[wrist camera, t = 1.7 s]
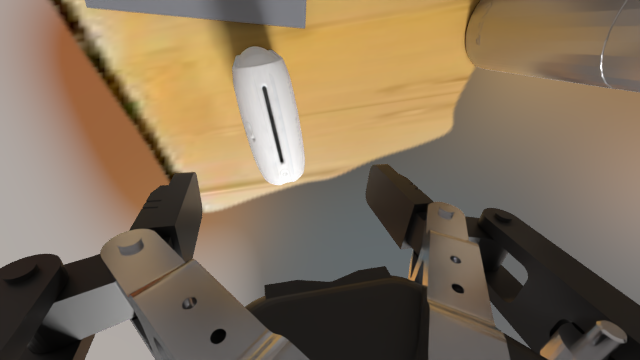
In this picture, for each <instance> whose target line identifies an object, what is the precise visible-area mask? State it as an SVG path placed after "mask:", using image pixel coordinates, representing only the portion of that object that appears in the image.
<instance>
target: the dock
mask: <svg viewBox="0 0 640 360" xmlns="http://www.w3.org/2000/svg"><path fill="white" fill-rule="evenodd" d="M85 2H86V6H87V7H88V8H95V9H105V10H116V11H126V12H137V13H147V14H157V15H168V16H178V17H189V18H199V19H210V20H220V21H231V22H241V23H252V24H262V25H273V26H283V27H293V28H305V19H306V0H85Z"/></svg>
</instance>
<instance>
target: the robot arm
mask: <svg viewBox="0 0 640 360" xmlns="http://www.w3.org/2000/svg"><path fill="white" fill-rule="evenodd" d="M466 51H467V54H468V57H469V59H470V60H471V62H472V63H473V64H474V65H475V66H477V67H479V68H482V69H487V70H494V71H500V72H507V73H513V74H519V75H526V76H533V77H540V78H546V79H553V80H559V81H566V82H573V83H579V84H586V85H592V86H599V87H606V88H612V89H621V90H627V91H634V92H640V0H481V1H480V2H479V3H478V5H477V6H476V8H475V10H474V12H473V14H472V16H471V18H470V21H469V24H468V28H467V32H466ZM366 201H367V203H368V205H369V206H370V208H371V209H372V211H373V212H374V213H375V215H376V216H377V217H378V219H379V220H380V221H381V223H382V224H383V226H384V227H385V228H386V230H387V231H388V232H389V234H390V235H391V237H392V238H393V240H394V241H395V242H396V244H397V245H398V246H399V248H400V249H406V248H413V252H412V255H411V260H410V268H409V275H408V279H406V278H403V277H398V276H391V275H390V273H389V272H388V270H387V268H386V267H385V266H384V267H377V268H371V269H364V270H358V271H356V272H353V273H351V274H349V275H347V276H344V277H342V278H340V279H337V280H335V281H333V282H321V281H304V280H295V281H288V282H282V283H276V284H269V285H265V296H263V297H261V298H259V299H257V300H255V301H253V302H251V303H250V304H248V305H247V306H246V307H244V306H243V305H242V304H241V303H240V302H239V301H238V300H237V299H236V298H235V297H234V296H233V295H232V294H231V293H230V292H229V291H227V290H226V289H225V288H224V287H223V286H222V285H221V284H220V283H219V282H218V281H217V280H216V279H215V278H214V277H213V276H212V275H211V274H210V273H209V272H208V271H207V270H206V269H205V268H203V267H202V266H201V265H200V264H199V263H198V262H197V261H196V260H194V259H192V258H193V254H194V250H195V245H196V241H197V236H198V232H199V227H200V223H201V219H202V203H201V197H200V191H199V186H198V180H197V175H196V173H195V172H189V173H175V174H174V176H173V178H172V180H171V182H170V184H169V185H166V186H164V185H163V186H160V187H158V188H157V189H156V190H154V191H153V192H152V193H151V194H150V196H149V197H148V199H147V202H146V203H145V204H144V206H143V209H142V210H141V211H140V213H139V215H138V216H137V218H136V220H135V222H134V223H133V225H132V227H131V228H130V230H129V231H127V232H124V233H121V234H119V235H117V236H115V237H113V238H112V239H111V240H109V241H108V242H107V243H106V244H105V245H104V246H103V247H102V249H101V252H100V254H98V255H95V256H93V257H89V258H86V259H82V260H79V261H75V262H72V263H68V264H65V265H63V263H62V261H61V259H60V258H59V257H58V256H56V255H53V254H38V255H33V256H29V257H25V258H22V259H19V260H17V261H14V262H12V263H10V264H8V265H6V266H4V267H2V268H0V360H85V357H86V355H87V353H88V350H89V348H90V345H91V343H92V341H93V338H94V336H95V334H96V333H98V332H100V331H102V330H105V329H107V328H109V327H112V326H114V325H117V324H119V323H121V322H124V321H126V320H129V319H130V320H131V322H132V324H133V325H134V327H135V328H136V330H137V332H138V333H139V335H140V336H141V338H142V340H143V341H144V342H145V344H146V346H147V347H148V349H149V350H150V352H151V354H152V355H153V357H154V358H155V360H640V305H638V304H637V303H635V302H634V301H633V300H631V299H630V298H629V297H627V296H625V295H624V294H623V293H622V292H620V291H619V290H618V289H616V288H615V287H613V286H612V285H610V284H609V283H608V282H606V281H605V280H604V279H602V278H601V277H599V276H598V275H597V274H595V273H594V272H592V271H591V270H589V269H588V268H587V267H585V266H584V265H583V264H581V263H580V262H578V261H577V260H576V259H574V258H573V257H572V256H570V255H569V254H567V253H566V252H565V251H563V250H562V249H560V248H559V247H558V246H556V245H555V244H553V243H552V242H551V241H549V240H548V239H547V238H545V237H544V236H542V235H541V234H540V233H538V232H537V231H535V230H534V229H533V228H531V227H530V226H528V225H527V224H525V223H524V222H523V221H521V220H520V219H519V218H517V217H516V216H514V215H513V214H511V213H508V212H506V211H503V210H500V209H496V208H487V209H484V211H483V212H482V214H481V217H480V218H474V217H465V215H464V213H463V212H462V211H461V210H460V209H458V208H457V207H455V206H453V205H450V204H447V203H443V202H433V201H432V200H431V199H430V198H429V197H428V196H427V195H425V194H424V193H423V192H422V191H421V190H420V189H418V187H417V186H415V185H413V183H412V182H411V181H410V180H409V179H408V178H406V177H404V176H402V175H400V174H398V173H397V172H396V171H395V170H394V169H393V168H391V167H390V166H389V165H388V164H381V165H372V167H371V169H370V173H369V178H368V183H367V189H366ZM508 252H509V253H510V254H511V255H512V256H513V257H514V258H515V259H516V260H518V261H519V262H520V263H521V264H522V265H523V266H524V267H525V268H526V270H527V272H528V280H527V282H526V283H525V285H524V286H523V285H521V283H520V282H518V281H517V280H516V279H515V278H514V277H513V276H512V275H511V274H510V273H509V272H508V271H507V270H506V269H505V268H504V267H503V266H502V265H501V264H502V262H503V260H504V259H505V257H506V255H507V254H508ZM490 301H491V302H492V303H493V305H494V306H495V307H496V308H497V309H498V311H499V312H500V313H501V314H502V315H503V317H504V318H505V319H506V320H507V321H508V322H509V323H510V325H511V326H512V327H513V328H514V329H515V331H516V332H517V333H518V334H519V335H520V336H521V338H522V339H523V340H524V341H525V342H526V343H527V344H528V346H529V347H530V348H531V349H532V350H531V349H530V348H528V347H526V346H525V345H523V344H521V343H520V342H518V341H516V340H514V339H513V338H511V337H509V336H507V335H506V334H504V333H503V332H501V330H499V329H498V328H497V327H496V326H495V323H494V318H493V313H492V308H491V304H490Z"/></svg>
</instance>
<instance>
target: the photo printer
mask: <svg viewBox="0 0 640 360" xmlns="http://www.w3.org/2000/svg"><path fill="white" fill-rule="evenodd" d="M232 72H233V84H234V89H235V94H236V98H237V103H238V106H239V110H240V114H241V117H242V121H243V124H244V128H245V131H246V135H247V138H248V141H249V144H250V147H251V150H252V153H253V156H254V159H255V161H256V164H257V166H258V168H259V170H260V172H261V174H262V175H263V177H264V178H265V179H266V181H268V182H269V183H271V184H274V185H282V184H284V183H287V182H294V181H296V180H297V179H298V178H299V177H300V176H301V175H302V174H303V172H304V165H305V155H304V146H303V139H302V133H301V127H300V121H299V116H298V111H297V106H296V101H295V97H294V92H293V88H292V84H291V80H290V76H289V73H288V70H287V67H286V65H285V63H284V60H283V59H282V57H280V56H279V55H278V54H277V53H275V52H274V51H273V50H266V49H264V48H262V47H258V46H252V47H249V48H247V49H245V50H244V51H243V52H242V53H241V55H237V56H236V58H235V61H234V64H233V67H232Z"/></svg>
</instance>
